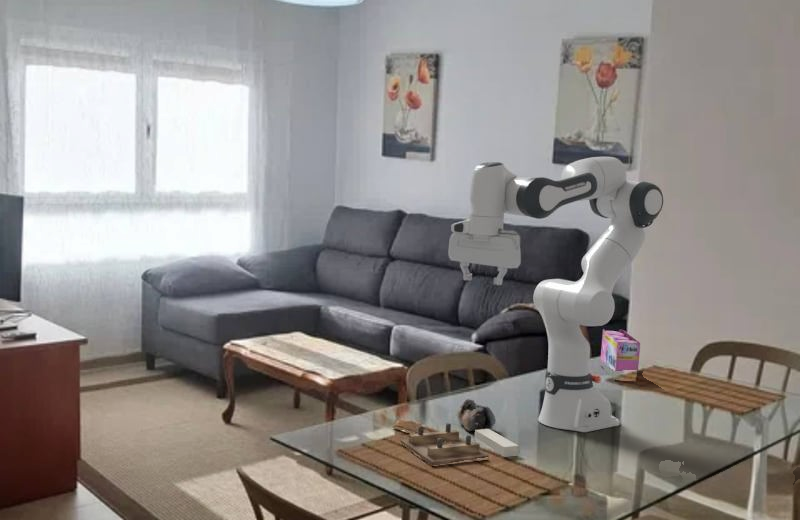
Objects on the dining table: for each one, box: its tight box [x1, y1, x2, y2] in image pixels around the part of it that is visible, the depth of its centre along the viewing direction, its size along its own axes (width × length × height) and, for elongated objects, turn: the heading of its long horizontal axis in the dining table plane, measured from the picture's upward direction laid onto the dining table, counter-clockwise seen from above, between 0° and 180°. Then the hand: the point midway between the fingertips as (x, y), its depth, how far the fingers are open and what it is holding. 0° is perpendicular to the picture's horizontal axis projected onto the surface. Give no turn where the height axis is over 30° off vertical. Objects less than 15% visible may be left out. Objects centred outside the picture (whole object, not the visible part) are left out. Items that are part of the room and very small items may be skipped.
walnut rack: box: [399, 422, 489, 467], centre depth 210 cm, size 15×17×5 cm
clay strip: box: [474, 429, 519, 457], centre depth 215 cm, size 4×14×3 cm, turn 25°
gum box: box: [600, 328, 641, 371], centre depth 302 cm, size 24×8×14 cm, turn 0°
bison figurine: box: [456, 398, 496, 432], centre depth 230 cm, size 12×7×10 cm
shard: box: [392, 419, 423, 434], centre depth 226 cm, size 11×8×2 cm
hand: (482, 282), depth 220 cm, fingers open, 8 cm apart
